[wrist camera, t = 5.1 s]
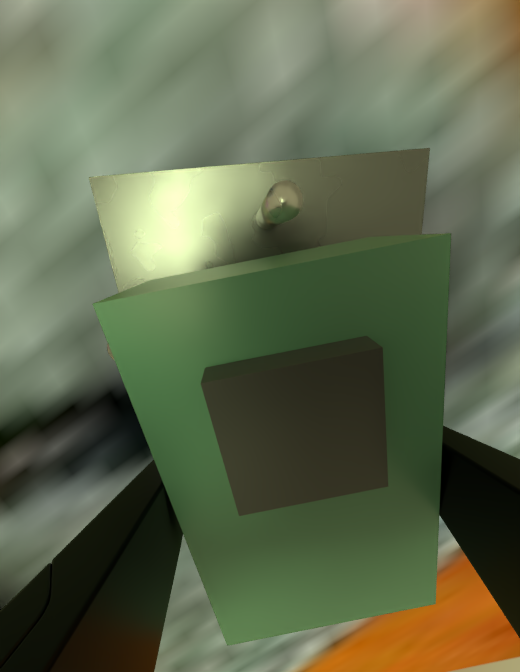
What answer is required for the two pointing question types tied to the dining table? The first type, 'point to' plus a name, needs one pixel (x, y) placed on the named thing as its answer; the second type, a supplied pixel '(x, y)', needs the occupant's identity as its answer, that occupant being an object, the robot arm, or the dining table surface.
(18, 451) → the dining table surface
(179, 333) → the board
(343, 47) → the dining table surface
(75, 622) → the robot arm
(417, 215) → the chassis
